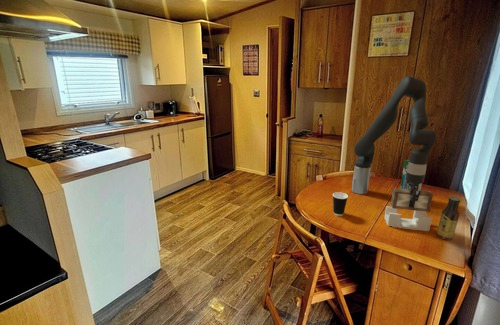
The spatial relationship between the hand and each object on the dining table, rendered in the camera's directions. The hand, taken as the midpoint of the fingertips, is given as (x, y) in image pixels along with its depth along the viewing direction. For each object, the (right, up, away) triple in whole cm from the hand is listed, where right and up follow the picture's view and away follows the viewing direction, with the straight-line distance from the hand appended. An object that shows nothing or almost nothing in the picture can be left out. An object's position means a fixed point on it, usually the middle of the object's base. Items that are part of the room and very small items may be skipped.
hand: (409, 204), depth 131 cm
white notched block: (0, -10, +3) cm, 11 cm away
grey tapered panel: (0, -2, +1) cm, 2 cm away
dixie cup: (-30, -7, +14) cm, 34 cm away
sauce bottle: (+11, -14, -7) cm, 20 cm away
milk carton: (+17, -2, +30) cm, 35 cm away
